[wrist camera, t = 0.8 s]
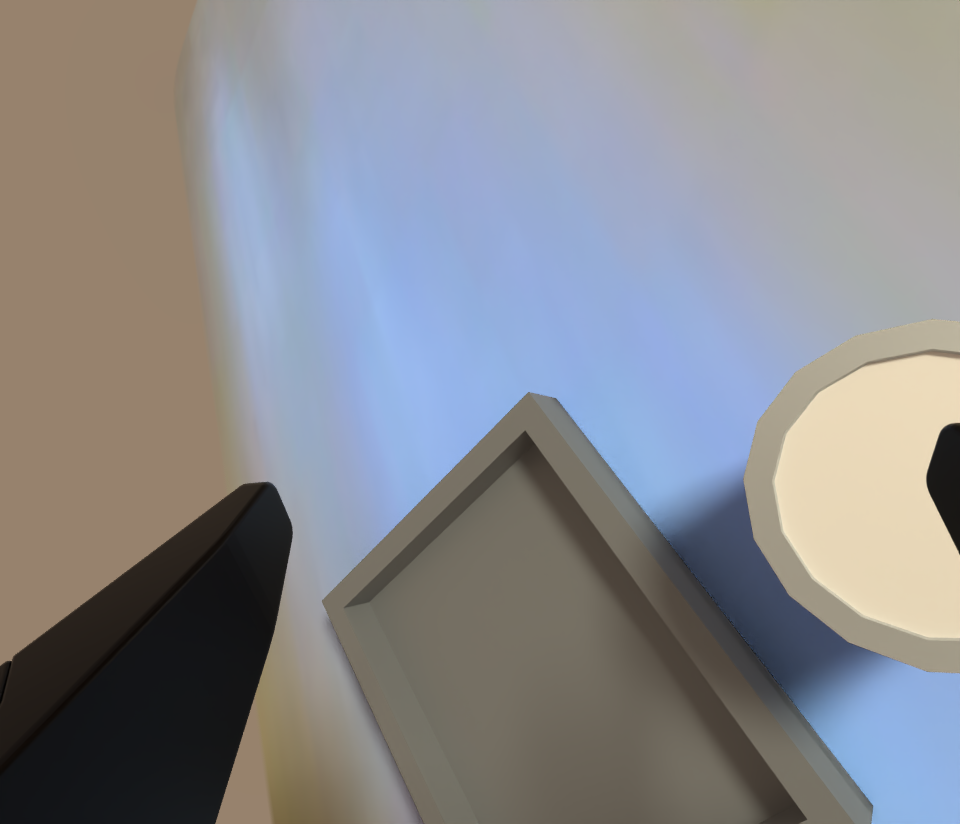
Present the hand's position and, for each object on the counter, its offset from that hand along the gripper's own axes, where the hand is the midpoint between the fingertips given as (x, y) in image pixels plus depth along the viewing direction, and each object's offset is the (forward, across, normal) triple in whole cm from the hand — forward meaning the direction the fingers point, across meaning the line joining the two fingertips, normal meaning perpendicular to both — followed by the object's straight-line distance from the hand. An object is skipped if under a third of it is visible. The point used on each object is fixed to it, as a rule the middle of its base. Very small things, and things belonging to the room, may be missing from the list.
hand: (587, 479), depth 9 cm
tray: (+8, +2, +16) cm, 18 cm away
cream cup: (+8, -10, +8) cm, 15 cm away
